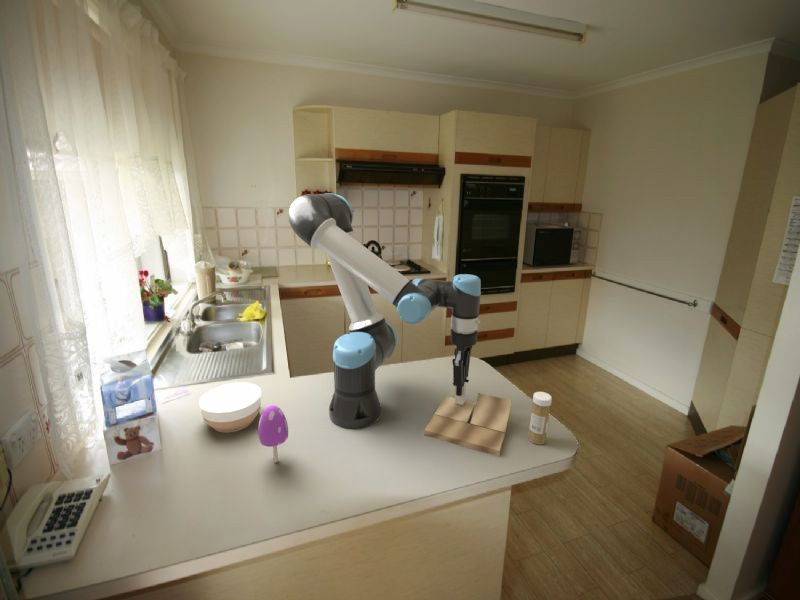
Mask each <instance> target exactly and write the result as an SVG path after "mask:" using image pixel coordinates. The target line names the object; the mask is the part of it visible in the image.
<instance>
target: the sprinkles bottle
mask: <svg viewBox="0 0 800 600" xmlns="http://www.w3.org/2000/svg"><path fill="white" fill-rule="evenodd" d="M552 399H553V397H552V395H550V394H549V393H548V392H545V391H536V392H535V391H534V393H533V396H532V407H531V408H532V409H531V414H530V421H529V430H528V431H529V432H528V436H527V438H528V440H529V442H531V443H532V444H535V445H538V446H540V445H544V444H546V441H547V439H546V438H547V432H548V426H549V416H550V411H551V410H550V409H551V405H552Z"/></svg>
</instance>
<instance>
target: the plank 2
mask: <svg viewBox="0 0 800 600" xmlns="http://www.w3.org/2000/svg"><path fill="white" fill-rule="evenodd" d="M512 403H513V400H511V399H507V398H504V397H503V398H502V397H498V396H493V395H489V394H485V393H482V392H481V393H480V392H478V394H477V398H476V402H475V407H474V410H473V412H472V414H471V418H470V422H469V424H472V425H476V426H480V427H483V428H487V429H491V430H495V431H499V432H503V433H505V434H506V432H507V427H508V422H509V417H510V414H511V413H510V412H511V408H512Z"/></svg>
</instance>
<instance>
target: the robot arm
mask: <svg viewBox="0 0 800 600" xmlns="http://www.w3.org/2000/svg"><path fill="white" fill-rule="evenodd" d="M353 220H354V210H353V208H352V205H351V204H350V202H349V201H348V200H347V199H346V198H345V197H343V196H341V195H339V194H336V193H329V192H327V193H326V192H325V193H314V194H311V193H307V194H302V195H301V196H298V197H296V198H295V199H294V200H293V202H291V204H290V207H289V210H288V221H289V225H290V227H291V229H292V231H293V232H294V234H296V235H297V237H299V238H300V240H301V241H303V242H304V243H305V244H307V246H309V247H310V248H311V249H313V250H316V249H317V250H318V249H320V250H321V251H322V252H324V254H326V257H327V260H328V262H329V264H330V268H331V270H332V273H333V276H334V279H335V282H336V284H337V287H338V290H339V293H340V294H341V297H342V300H343V304H344V306H345V309H346V311H347V314H348V316H349V320H350V322H351V323H350V325H349V327H348V331H349V333H345V334H343V335H340V336H339V337H338V338H337V339H336V340H335V342H334V344H333V351H332V360H333V361H332V362H333V381H334V383H333V384H334V386H333V387H334V392H333V395H332V397H331V400H330V404H329V407H328V414H329V419H330V421H331V422H332V423H333V424H335V426H338V427H341V428H346V429H361V428H365V427H367V426H370V425H372V424H375V423H376V422H377V421H378V420H379V419H380V417H381V415H382V405H381V402H380V399H379V395H378V394H377V390H376V370H377V369H378V368H379V367H380V366H381V365H382V364H384V362H385V361H386V360H387V359H388V358H390V357H391V356H392V354H393V352H394V351H395V349H396V348H397V345H398V334H397V332H396V330H395V328H394V326H393V325H391V324H389V322H387V321H386V318H385V316H384V315H383V314H381V313H379V312H378V310H377V308H376V307H377V306H376V305H375V302H374V299H373V296H372V294H371V291H370V289H369V287H370V288H371V289H372V290H373V291H375V292H376V293H377V294H379V295H380V296H381V297H383V299H385V300H387V301H388V302H389V303H391V304H392V305H393V306H395V308H396V310H397V314H398V317H400V318H399V319H401V320H402V321H403V322H404V323H406V324H410V325H417V324H419V323H421V322H422V321H425V320H426V318H428V317H429V316H430V314H431V313H432V312H433V311H434V310H435V309H436V308H443V309H444V308H445V309H451V320H450V328H451V329H450V336H449V337H450V342H451V344H453V345H454V346H456V347H455V348H454V352H453V354H454V358H452V361H451V363H452V366H453V367H452V375H453V376H452V378H453V379H452V380H453V382H452V385H453V386H454V398H455V400H454V403H455V404H460V405H464V403H465V401H466V400H465V399H466V389H467V388H466V387H467V383H469V382H470V380H469V379H468V377H469V373H470V371H469V370H470V362H471V354H472V349H473V346H475V345H477V343H478V333H479V332H478V329H479V325H480V324H481V320H480V319H479V317H480V314H479V313H480V305H481V295H482V292H481V289H482V288H481V287H482V283H481V282H482V281H481V278H480V277H479V276H478V275H475V274H467V273H464V274H462V273H461V274H457V275H455V276H454V277H453V280H451V281H450V280H438V279H429V278H427V277H425V278H414V279H413V280H412V281H410V279H408V278H407V277H406V276H404V275H403V273H401V272H399V271H398V270H396V269H395V268H393V266H392V265H390V264H388V263H387V262H386V261H385V260H383V259H382V258H380V257H379V256H378V255H376V254H375V253H374V252H372V251H371V250H370V249H368V248H367V247H365V245H363V244H362V243H360V242H359V241H358V240H356V239H355V238H354V237H353V235H354V233H355V232H354V229H353V226H352V223H353Z"/></svg>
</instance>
